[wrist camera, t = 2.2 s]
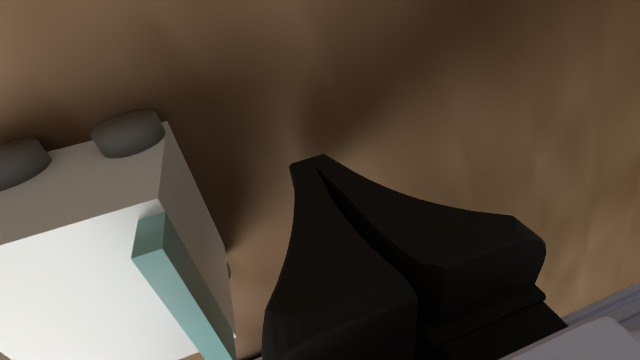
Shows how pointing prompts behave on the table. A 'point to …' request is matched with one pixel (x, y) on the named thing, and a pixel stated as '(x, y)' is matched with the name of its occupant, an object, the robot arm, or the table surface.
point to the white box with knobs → (110, 250)
